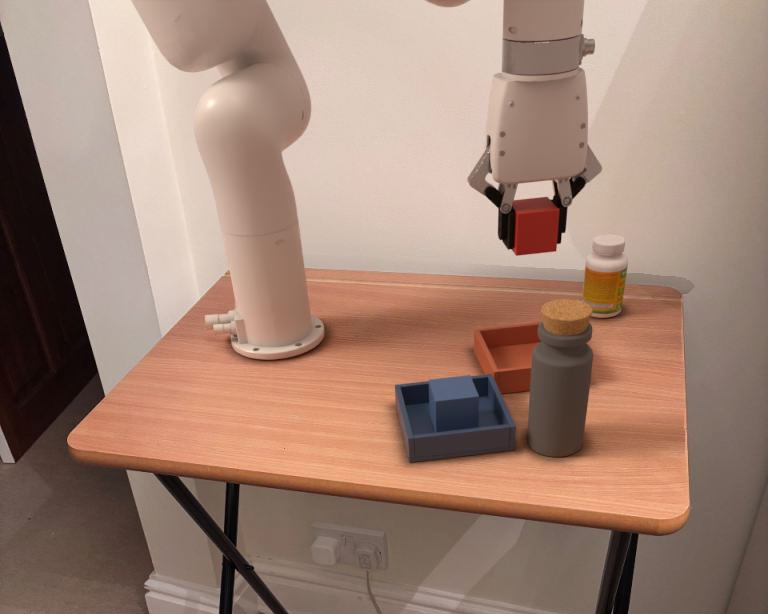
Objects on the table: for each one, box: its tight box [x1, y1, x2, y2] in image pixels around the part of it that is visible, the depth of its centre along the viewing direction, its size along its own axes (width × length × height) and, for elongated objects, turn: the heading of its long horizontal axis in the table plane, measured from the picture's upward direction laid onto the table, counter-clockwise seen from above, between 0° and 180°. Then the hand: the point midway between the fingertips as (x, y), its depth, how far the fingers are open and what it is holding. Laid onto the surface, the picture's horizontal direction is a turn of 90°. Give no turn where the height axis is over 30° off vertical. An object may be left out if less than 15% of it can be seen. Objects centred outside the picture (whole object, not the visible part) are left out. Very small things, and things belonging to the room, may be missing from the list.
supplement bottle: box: [580, 233, 629, 319], centre depth 103 cm, size 5×5×10 cm
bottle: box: [526, 298, 594, 458], centre depth 77 cm, size 6×6×15 cm
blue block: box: [428, 374, 479, 433], centre depth 84 cm, size 5×5×5 cm
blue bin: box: [394, 374, 517, 463], centre depth 85 cm, size 11×11×3 cm
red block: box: [511, 196, 559, 257], centre depth 86 cm, size 5×5×5 cm
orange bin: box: [473, 321, 542, 395], centre depth 94 cm, size 11×11×3 cm
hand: (531, 240), depth 87 cm, fingers closed on red block, 4 cm apart
